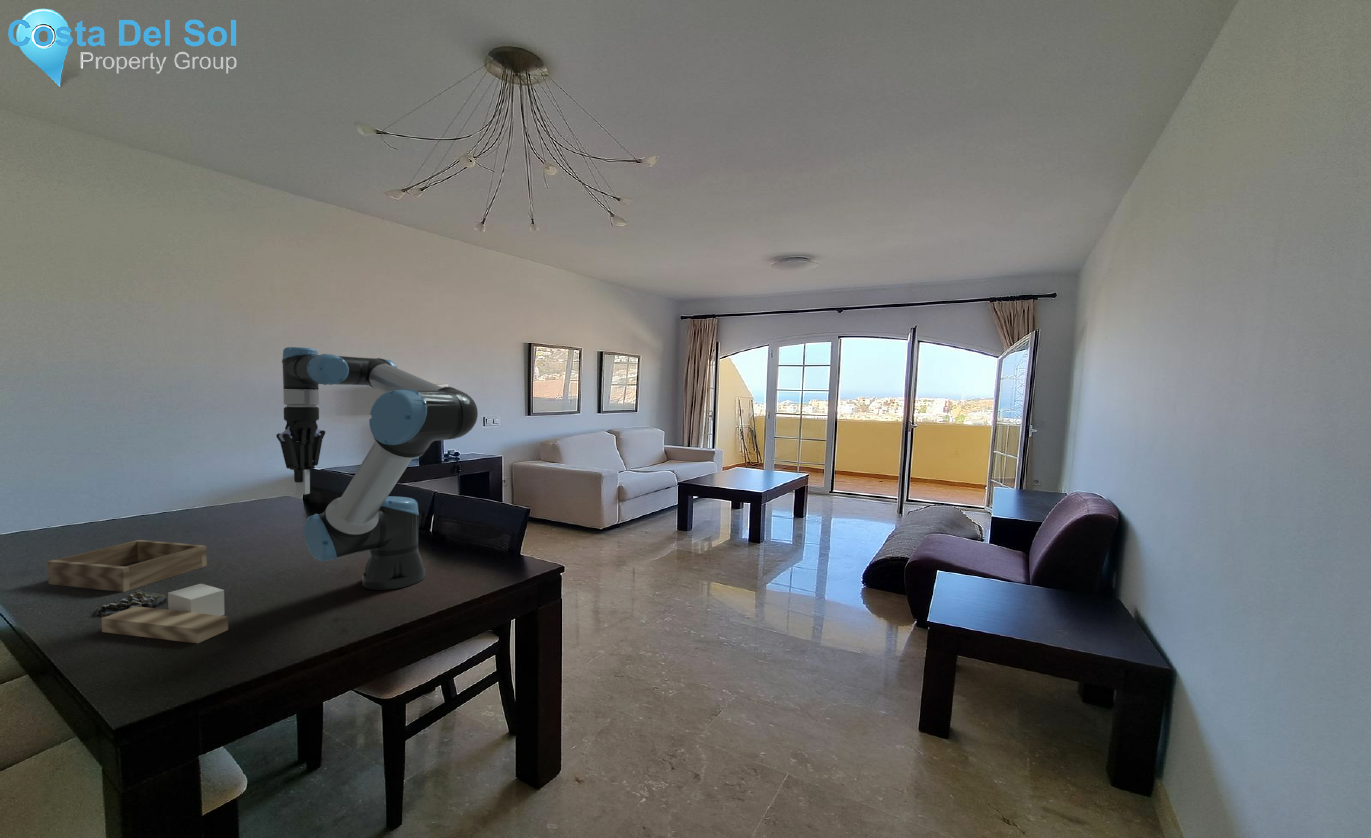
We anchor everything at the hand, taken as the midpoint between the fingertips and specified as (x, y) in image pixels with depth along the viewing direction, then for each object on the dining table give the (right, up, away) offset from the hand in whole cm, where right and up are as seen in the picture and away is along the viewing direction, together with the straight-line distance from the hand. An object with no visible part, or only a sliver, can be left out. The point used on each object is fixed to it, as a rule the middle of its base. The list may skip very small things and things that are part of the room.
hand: (303, 493), depth 136 cm
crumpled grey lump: (-28, -25, -16) cm, 41 cm away
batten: (-9, -26, -27) cm, 38 cm away
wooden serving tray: (-49, -23, +3) cm, 54 cm away
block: (-9, -25, -20) cm, 34 cm away
